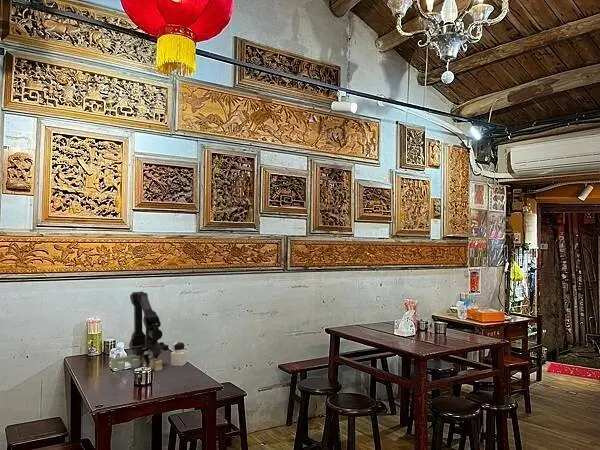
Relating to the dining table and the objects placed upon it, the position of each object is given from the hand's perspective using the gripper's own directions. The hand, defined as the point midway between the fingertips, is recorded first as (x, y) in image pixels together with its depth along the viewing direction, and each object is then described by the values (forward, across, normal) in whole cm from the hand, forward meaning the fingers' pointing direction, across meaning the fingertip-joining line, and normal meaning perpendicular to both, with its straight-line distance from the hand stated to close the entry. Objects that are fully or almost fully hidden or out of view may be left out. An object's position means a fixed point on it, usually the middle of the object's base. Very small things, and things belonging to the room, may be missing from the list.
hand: (151, 365), depth 269 cm
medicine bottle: (+1, +14, -6) cm, 15 cm away
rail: (+1, 0, -1) cm, 1 cm away
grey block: (+1, -10, +9) cm, 13 cm away
